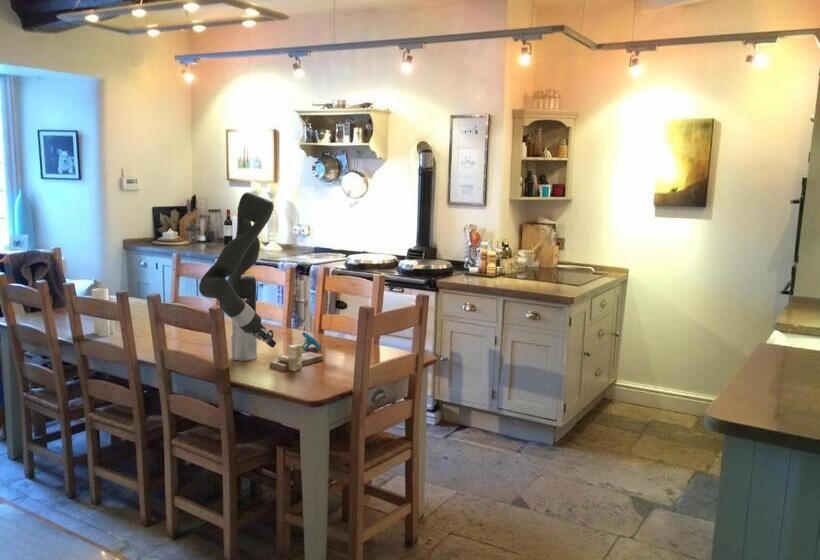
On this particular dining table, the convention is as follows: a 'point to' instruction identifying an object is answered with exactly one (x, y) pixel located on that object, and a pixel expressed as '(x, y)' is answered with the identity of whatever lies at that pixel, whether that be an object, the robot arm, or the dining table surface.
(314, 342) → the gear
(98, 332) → the vase
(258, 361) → the dining table surface
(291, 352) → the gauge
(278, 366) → the board
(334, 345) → the dining table surface
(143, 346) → the dining table surface
